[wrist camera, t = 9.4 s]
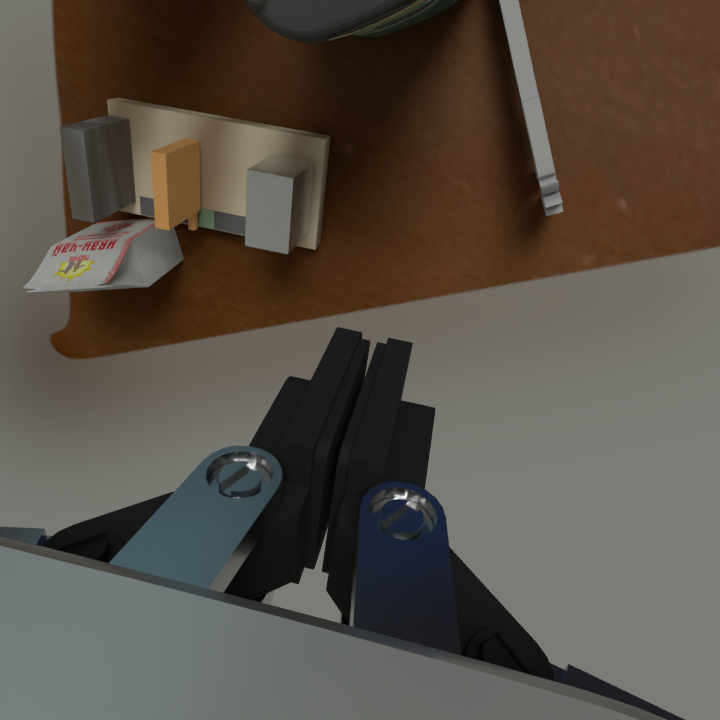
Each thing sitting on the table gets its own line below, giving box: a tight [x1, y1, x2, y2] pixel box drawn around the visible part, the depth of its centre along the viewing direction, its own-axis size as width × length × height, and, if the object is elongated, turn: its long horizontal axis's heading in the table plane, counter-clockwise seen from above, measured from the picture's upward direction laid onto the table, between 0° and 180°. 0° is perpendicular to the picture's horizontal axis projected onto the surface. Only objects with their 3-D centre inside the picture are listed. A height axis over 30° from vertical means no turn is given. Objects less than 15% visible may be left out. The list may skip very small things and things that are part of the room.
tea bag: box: [24, 217, 184, 292], centre depth 43 cm, size 4×7×10 cm, turn 98°
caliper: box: [499, 0, 563, 216], centre depth 32 cm, size 20×1×6 cm, turn 21°
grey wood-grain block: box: [245, 154, 314, 254], centre depth 38 cm, size 3×5×5 cm, turn 173°
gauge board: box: [60, 98, 331, 250], centre depth 40 cm, size 16×8×7 cm, turn 82°
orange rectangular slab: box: [151, 138, 201, 231], centre depth 39 cm, size 1×6×5 cm, turn 172°
